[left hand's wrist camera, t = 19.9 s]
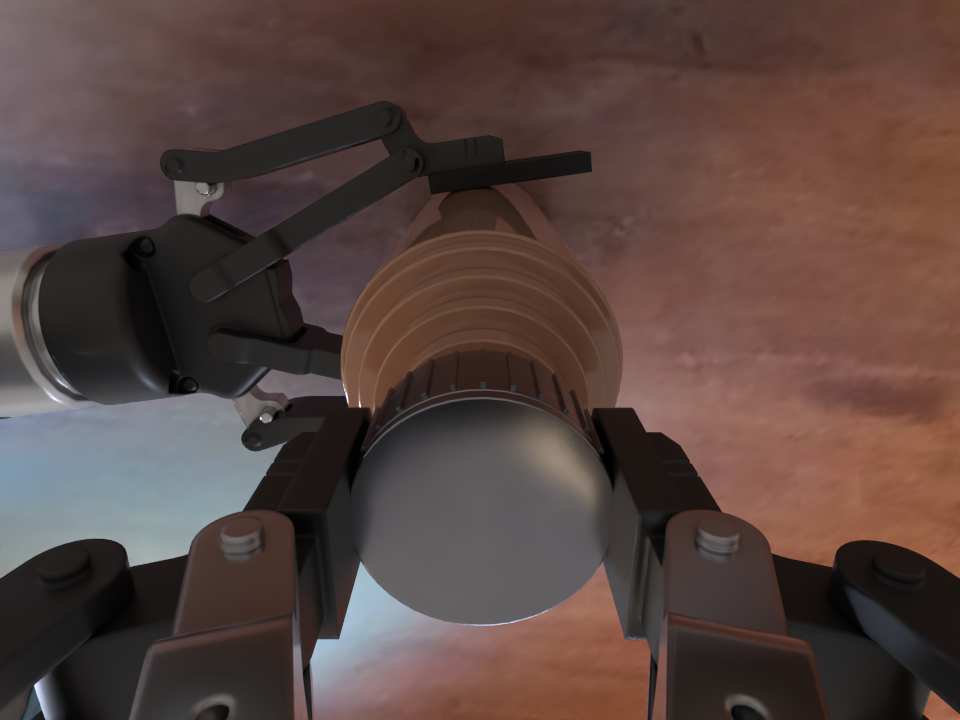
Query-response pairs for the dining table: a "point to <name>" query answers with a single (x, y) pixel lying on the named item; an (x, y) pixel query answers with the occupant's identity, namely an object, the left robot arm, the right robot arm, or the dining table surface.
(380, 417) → the cap
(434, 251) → the bottle
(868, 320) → the dining table surface
